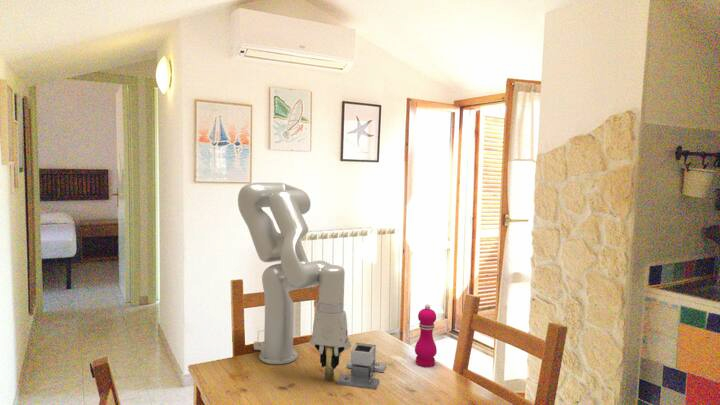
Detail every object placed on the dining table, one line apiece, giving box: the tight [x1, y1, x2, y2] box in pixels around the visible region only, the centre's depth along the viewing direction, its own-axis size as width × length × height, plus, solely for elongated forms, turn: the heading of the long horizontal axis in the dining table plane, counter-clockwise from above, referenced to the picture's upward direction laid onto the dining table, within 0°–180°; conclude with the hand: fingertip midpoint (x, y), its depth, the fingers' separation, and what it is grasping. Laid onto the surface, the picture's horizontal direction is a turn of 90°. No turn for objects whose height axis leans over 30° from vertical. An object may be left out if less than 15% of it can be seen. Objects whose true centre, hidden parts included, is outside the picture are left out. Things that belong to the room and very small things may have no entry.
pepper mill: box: [414, 303, 438, 368], centre depth 162 cm, size 7×7×20 cm
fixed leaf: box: [336, 361, 380, 390], centre depth 150 cm, size 12×11×4 cm
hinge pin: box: [324, 346, 335, 382], centre depth 148 cm, size 4×4×13 cm
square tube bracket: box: [346, 342, 387, 373], centre depth 155 cm, size 12×12×8 cm
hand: (329, 365), depth 148 cm, fingers closed on hinge pin, 2 cm apart
